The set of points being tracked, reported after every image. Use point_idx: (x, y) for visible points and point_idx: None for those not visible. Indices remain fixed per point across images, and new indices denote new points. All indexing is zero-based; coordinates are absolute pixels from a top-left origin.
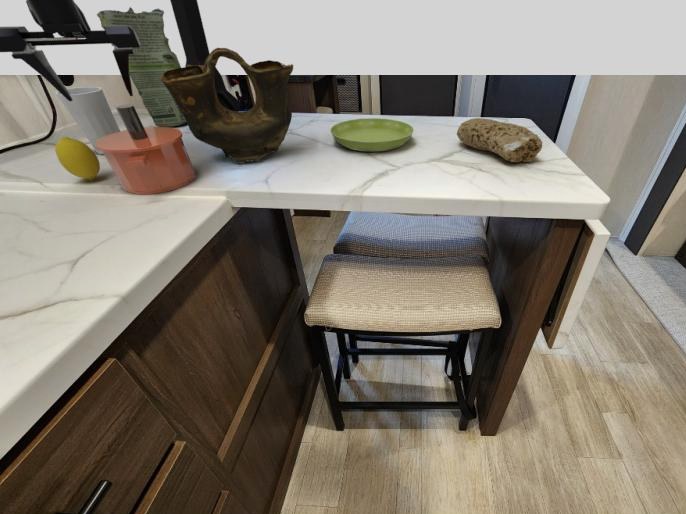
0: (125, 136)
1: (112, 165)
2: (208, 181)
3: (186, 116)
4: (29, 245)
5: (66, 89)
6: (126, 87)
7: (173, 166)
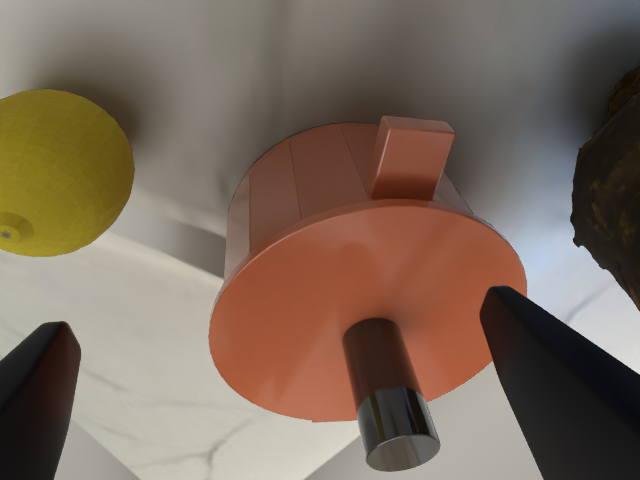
0: (318, 314)
1: None
2: None
3: (623, 275)
4: (109, 416)
5: (37, 395)
6: (504, 384)
7: None
